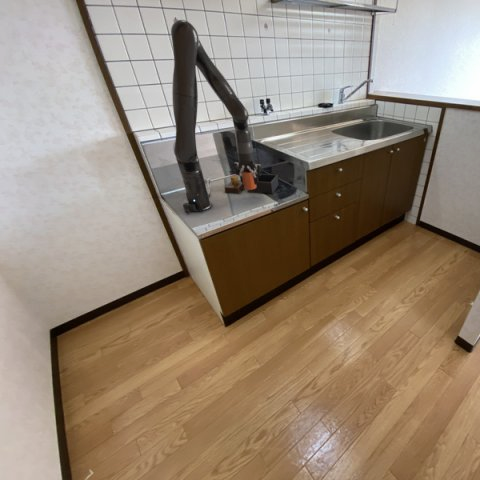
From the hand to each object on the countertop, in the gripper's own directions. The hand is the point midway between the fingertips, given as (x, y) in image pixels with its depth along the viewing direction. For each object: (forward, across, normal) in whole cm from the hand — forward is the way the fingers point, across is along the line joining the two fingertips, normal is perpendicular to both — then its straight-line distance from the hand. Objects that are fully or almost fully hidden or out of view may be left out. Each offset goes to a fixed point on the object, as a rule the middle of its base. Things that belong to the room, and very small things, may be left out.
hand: (249, 183), depth 140 cm
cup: (+2, 0, 0) cm, 2 cm away
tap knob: (+6, -14, +10) cm, 18 cm away
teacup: (+9, -28, -1) cm, 29 cm away
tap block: (+9, -14, +10) cm, 19 cm away
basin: (+9, +2, +13) cm, 16 cm away
